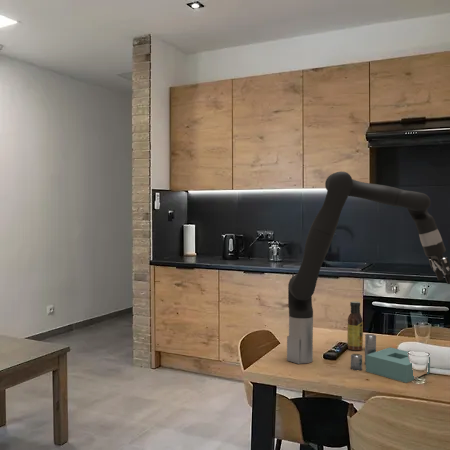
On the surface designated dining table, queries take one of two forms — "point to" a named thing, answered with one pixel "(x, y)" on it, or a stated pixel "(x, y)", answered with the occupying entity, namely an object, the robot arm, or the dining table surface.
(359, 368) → the short pin
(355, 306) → the sauce bottle
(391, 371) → the hole block
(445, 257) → the robot arm
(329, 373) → the dining table surface
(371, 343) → the long pin
